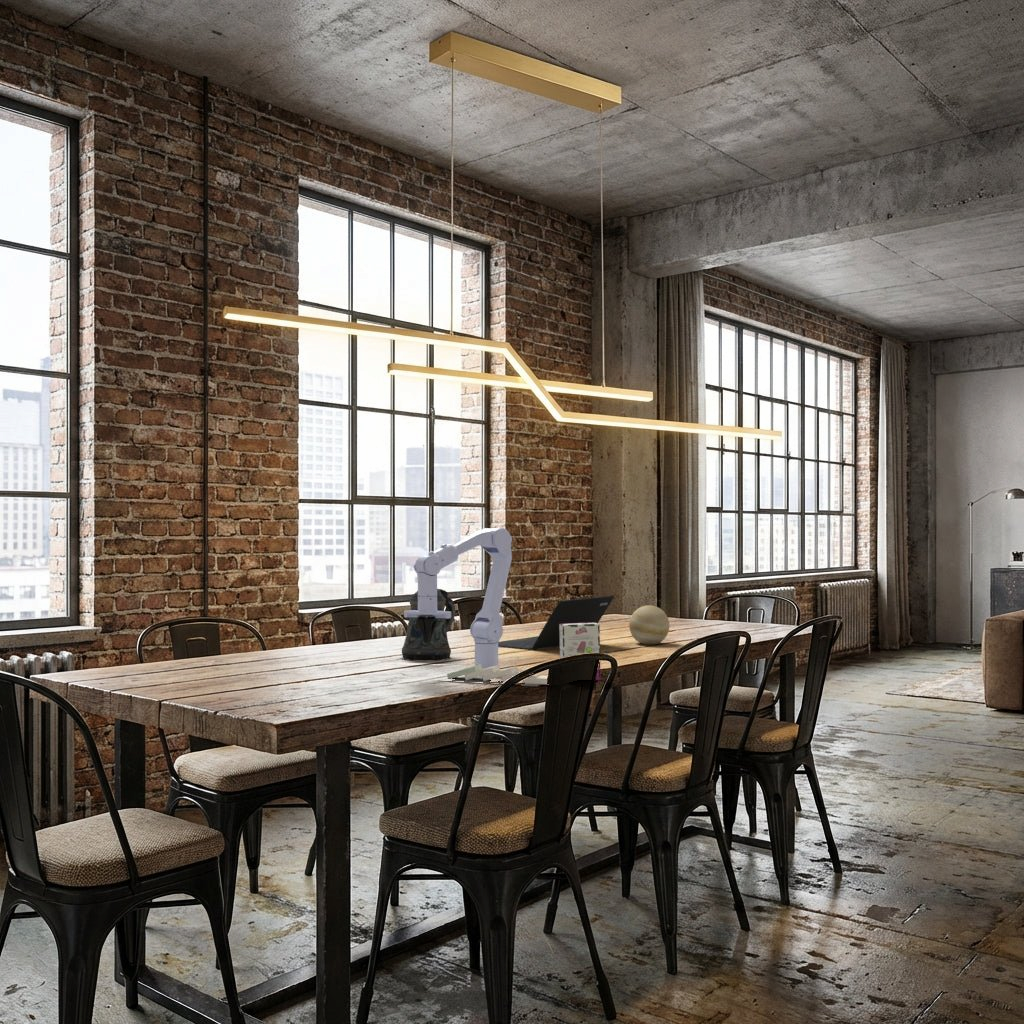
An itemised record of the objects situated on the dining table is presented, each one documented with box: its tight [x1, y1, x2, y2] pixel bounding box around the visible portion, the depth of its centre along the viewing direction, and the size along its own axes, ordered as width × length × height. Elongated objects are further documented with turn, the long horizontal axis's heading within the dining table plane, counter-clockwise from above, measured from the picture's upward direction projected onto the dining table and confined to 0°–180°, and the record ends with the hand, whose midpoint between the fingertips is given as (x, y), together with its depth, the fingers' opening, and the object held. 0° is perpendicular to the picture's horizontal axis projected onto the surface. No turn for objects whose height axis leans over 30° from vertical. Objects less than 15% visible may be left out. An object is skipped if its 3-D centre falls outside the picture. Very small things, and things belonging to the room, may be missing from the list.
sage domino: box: [446, 664, 482, 679], centre depth 299 cm, size 2×5×9 cm
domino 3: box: [501, 668, 526, 682], centre depth 293 cm, size 2×5×9 cm
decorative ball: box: [628, 604, 670, 646], centre depth 389 cm, size 15×15×15 cm
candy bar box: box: [559, 622, 601, 681], centre depth 299 cm, size 11×5×16 cm, turn 101°
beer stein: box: [401, 588, 456, 661], centre depth 349 cm, size 16×19×25 cm
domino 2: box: [481, 665, 519, 681], centre depth 296 cm, size 2×5×9 cm
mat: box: [452, 676, 543, 687], centre depth 297 cm, size 36×9×1 cm, turn 69°
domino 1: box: [464, 664, 501, 680], centre depth 298 cm, size 2×5×9 cm
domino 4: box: [522, 675, 548, 685], centre depth 292 cm, size 2×5×9 cm
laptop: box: [498, 595, 614, 651], centre depth 385 cm, size 33×38×19 cm
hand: (427, 642), depth 305 cm, fingers closed
